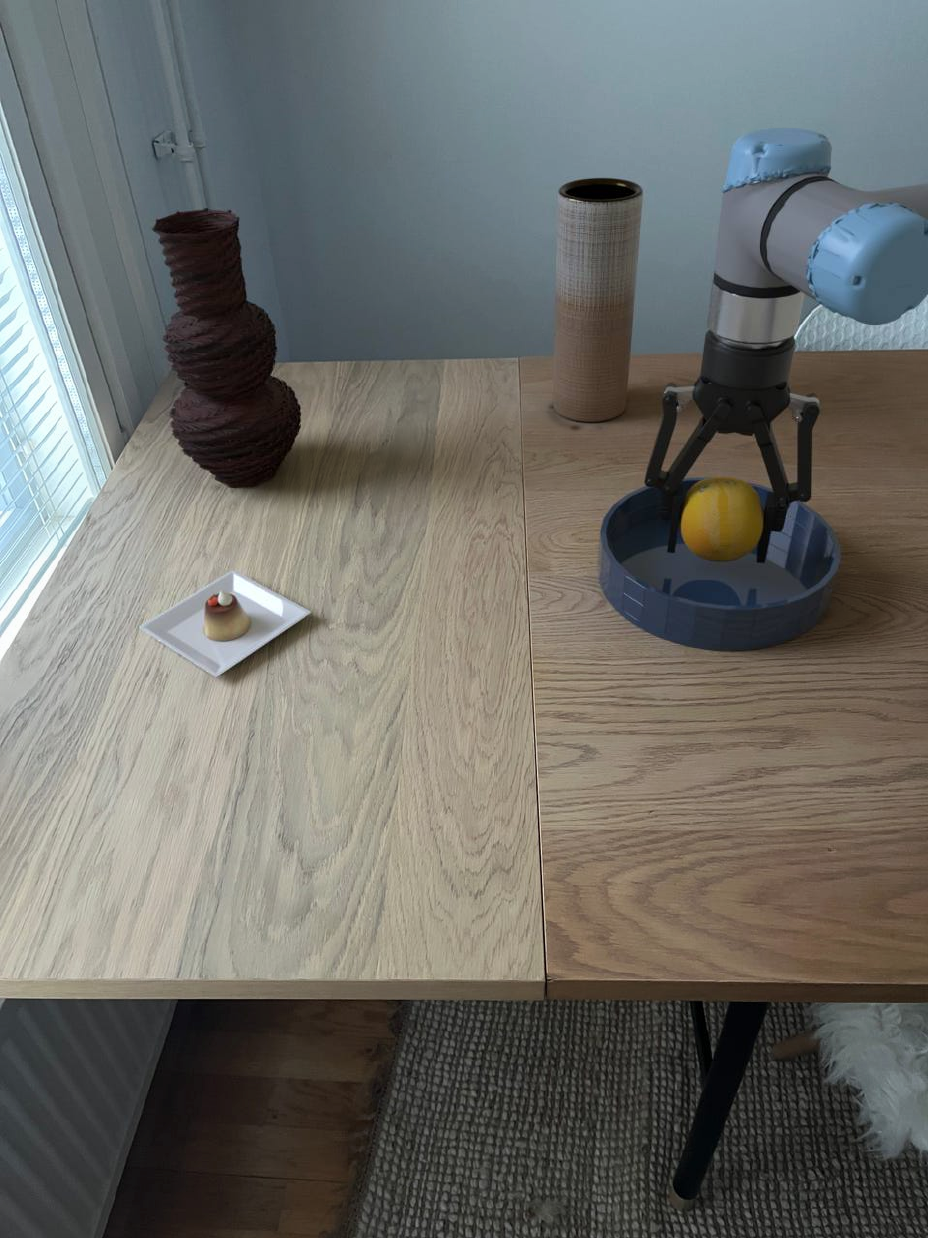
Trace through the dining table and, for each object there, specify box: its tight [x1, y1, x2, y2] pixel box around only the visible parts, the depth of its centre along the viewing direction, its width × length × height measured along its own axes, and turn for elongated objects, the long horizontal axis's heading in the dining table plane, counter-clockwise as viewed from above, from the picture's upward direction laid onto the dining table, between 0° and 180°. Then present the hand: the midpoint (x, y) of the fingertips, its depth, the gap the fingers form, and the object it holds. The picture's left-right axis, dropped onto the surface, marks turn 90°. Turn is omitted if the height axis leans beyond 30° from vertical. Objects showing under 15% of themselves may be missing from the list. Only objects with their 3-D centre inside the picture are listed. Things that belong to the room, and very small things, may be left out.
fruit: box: [679, 476, 764, 562], centre depth 93 cm, size 9×8×8 cm
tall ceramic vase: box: [552, 177, 644, 423], centre depth 120 cm, size 10×10×28 cm
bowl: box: [597, 476, 842, 652], centre depth 96 cm, size 23×23×5 cm
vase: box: [151, 207, 302, 488], centre depth 109 cm, size 15×15×30 cm
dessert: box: [138, 569, 312, 678], centre depth 92 cm, size 12×12×5 cm
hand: (715, 549), depth 95 cm, fingers closed on fruit, 8 cm apart
